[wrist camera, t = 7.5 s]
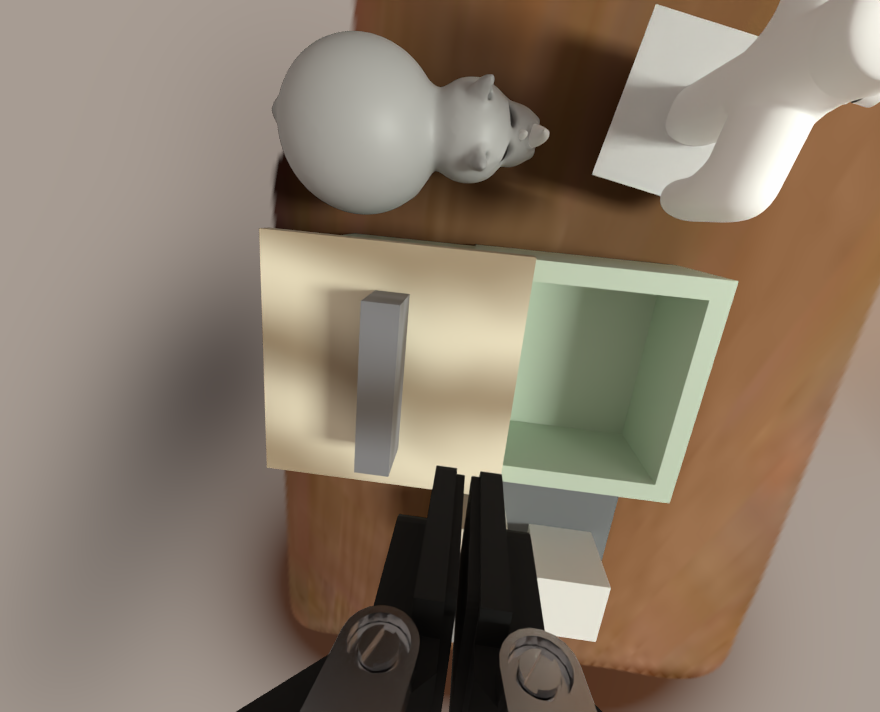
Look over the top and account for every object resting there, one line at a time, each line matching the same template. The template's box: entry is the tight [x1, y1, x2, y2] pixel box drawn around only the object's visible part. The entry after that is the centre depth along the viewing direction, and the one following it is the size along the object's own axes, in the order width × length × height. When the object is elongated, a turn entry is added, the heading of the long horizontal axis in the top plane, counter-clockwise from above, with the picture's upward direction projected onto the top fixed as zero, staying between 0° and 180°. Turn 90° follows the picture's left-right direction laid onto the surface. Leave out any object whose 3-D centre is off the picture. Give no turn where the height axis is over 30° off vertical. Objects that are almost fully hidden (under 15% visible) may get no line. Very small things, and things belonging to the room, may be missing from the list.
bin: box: [343, 233, 738, 503], centre depth 25 cm, size 12×20×6 cm, turn 85°
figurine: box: [592, 0, 880, 222], centre depth 17 cm, size 7×9×15 cm
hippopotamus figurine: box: [272, 31, 549, 214], centre depth 21 cm, size 8×12×9 cm, turn 86°
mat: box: [503, 481, 618, 561], centre depth 33 cm, size 12×12×1 cm
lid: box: [259, 228, 536, 494], centre depth 20 cm, size 12×12×4 cm
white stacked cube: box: [527, 524, 611, 642], centre depth 30 cm, size 4×4×5 cm
